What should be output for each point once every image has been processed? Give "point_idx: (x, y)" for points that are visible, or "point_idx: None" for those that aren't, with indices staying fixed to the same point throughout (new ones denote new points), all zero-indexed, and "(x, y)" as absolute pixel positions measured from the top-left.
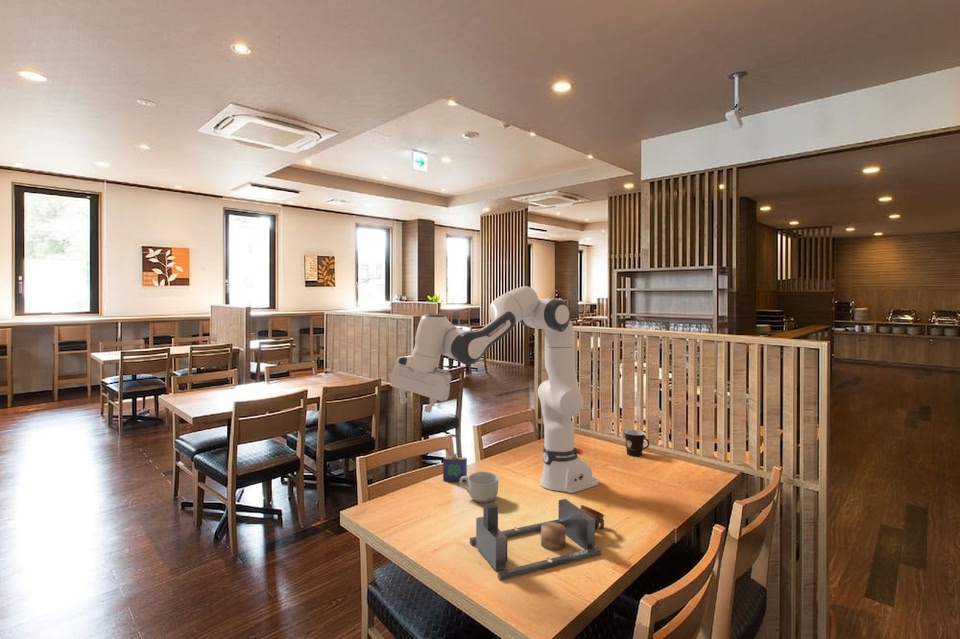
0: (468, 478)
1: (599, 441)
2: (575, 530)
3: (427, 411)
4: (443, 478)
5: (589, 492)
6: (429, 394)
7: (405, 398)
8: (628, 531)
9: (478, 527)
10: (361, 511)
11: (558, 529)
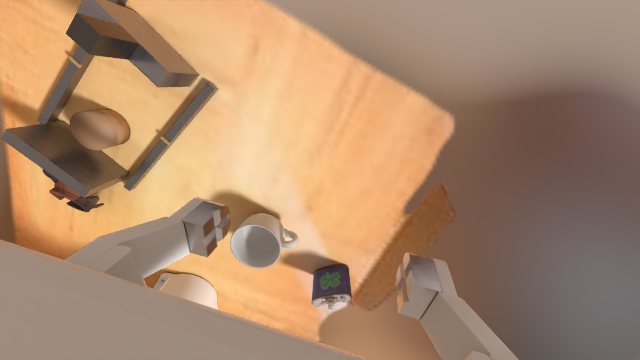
0: (277, 239)
1: None
2: (73, 146)
3: (199, 198)
4: (347, 268)
5: (145, 280)
6: (36, 291)
7: (411, 301)
8: None
9: (169, 64)
10: (433, 132)
11: (80, 128)
